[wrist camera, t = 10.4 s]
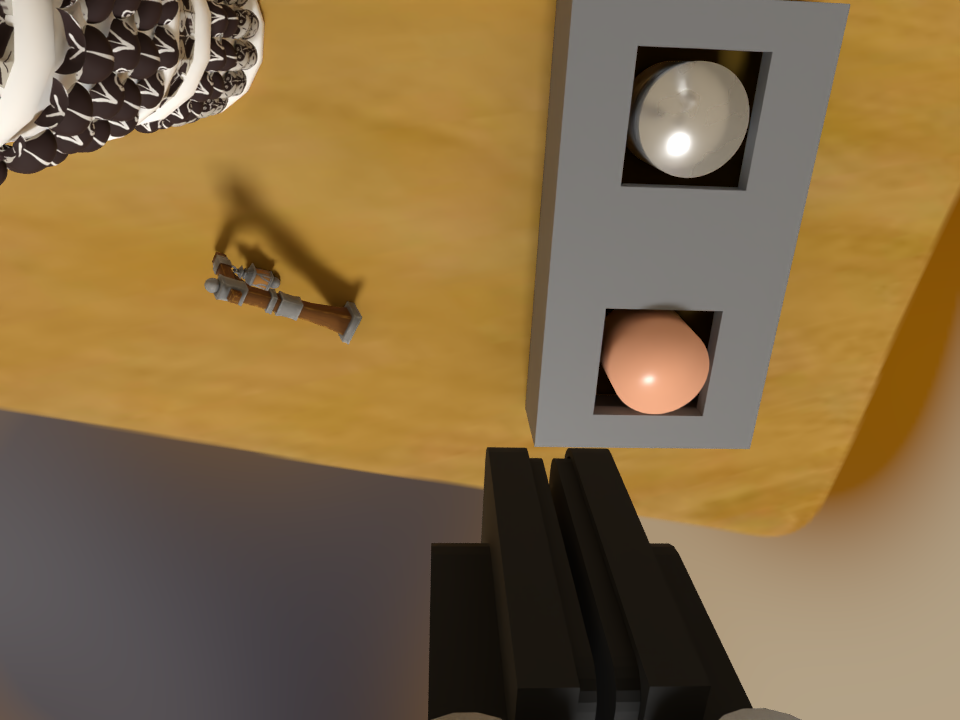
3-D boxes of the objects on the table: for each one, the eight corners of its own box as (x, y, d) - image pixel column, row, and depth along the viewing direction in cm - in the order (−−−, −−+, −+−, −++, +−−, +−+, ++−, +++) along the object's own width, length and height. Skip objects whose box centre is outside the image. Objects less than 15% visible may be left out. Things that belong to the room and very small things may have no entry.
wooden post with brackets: (203, 236, 36) (213, 275, 33) (341, 281, 41) (363, 319, 37) (191, 266, 37) (200, 307, 33) (329, 307, 41) (349, 346, 38)
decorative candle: (309, 79, 34) (40, 123, 11) (146, 158, 35) (-405, 347, 12) (207, -127, 30) (-496, -683, 8) (29, -33, 32) (-1057, -271, 9)
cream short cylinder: (625, 58, 34) (647, 58, 30) (725, 63, 34) (759, 63, 31) (613, 164, 36) (632, 176, 32) (707, 167, 36) (737, 179, 33)
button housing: (556, -3, 33) (573, -11, 29) (800, 10, 34) (850, 4, 30) (525, 408, 42) (534, 446, 38) (719, 411, 43) (749, 448, 39)
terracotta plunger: (601, 297, 38) (618, 323, 34) (690, 300, 38) (717, 325, 35) (591, 380, 40) (606, 413, 36) (676, 382, 40) (700, 414, 37)
